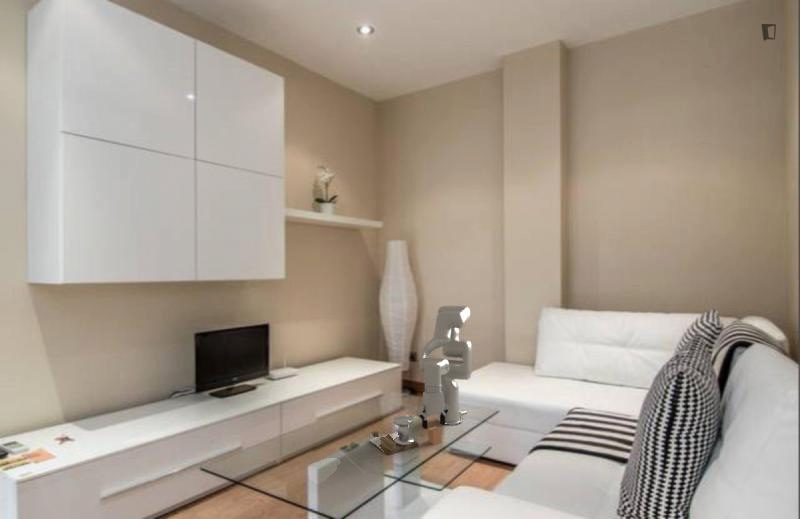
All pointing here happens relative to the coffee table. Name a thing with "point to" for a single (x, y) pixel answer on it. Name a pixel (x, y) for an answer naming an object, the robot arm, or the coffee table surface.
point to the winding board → (398, 448)
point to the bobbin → (403, 431)
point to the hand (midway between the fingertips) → (433, 426)
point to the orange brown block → (434, 435)
